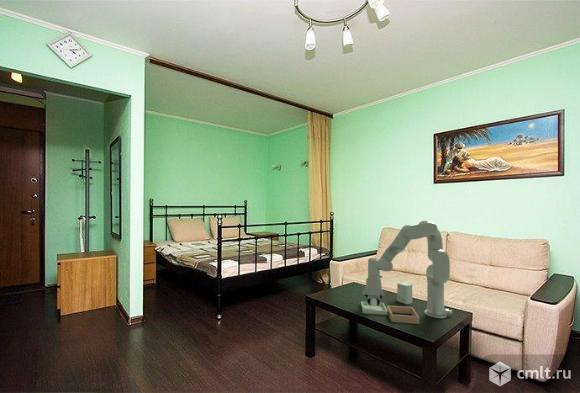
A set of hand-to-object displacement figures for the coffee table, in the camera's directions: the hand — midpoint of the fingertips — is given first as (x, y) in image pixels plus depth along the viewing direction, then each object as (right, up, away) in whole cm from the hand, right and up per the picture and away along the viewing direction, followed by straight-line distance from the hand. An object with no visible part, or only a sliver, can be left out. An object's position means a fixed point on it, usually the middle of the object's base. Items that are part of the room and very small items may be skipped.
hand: (373, 304), depth 183 cm
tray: (0, -3, 0) cm, 3 cm away
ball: (0, +2, 0) cm, 2 cm away
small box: (+27, -4, +16) cm, 32 cm away
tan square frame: (+14, -3, -12) cm, 19 cm away
